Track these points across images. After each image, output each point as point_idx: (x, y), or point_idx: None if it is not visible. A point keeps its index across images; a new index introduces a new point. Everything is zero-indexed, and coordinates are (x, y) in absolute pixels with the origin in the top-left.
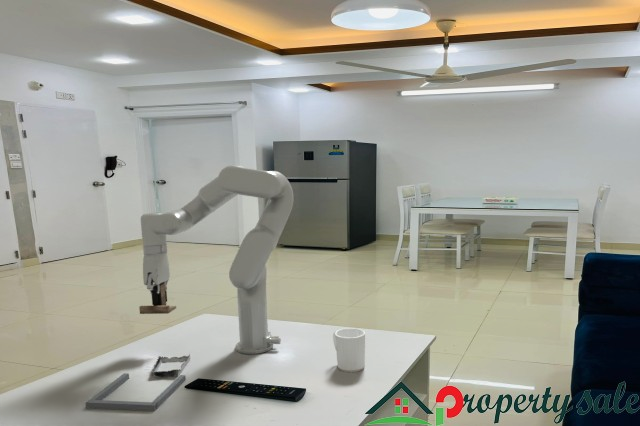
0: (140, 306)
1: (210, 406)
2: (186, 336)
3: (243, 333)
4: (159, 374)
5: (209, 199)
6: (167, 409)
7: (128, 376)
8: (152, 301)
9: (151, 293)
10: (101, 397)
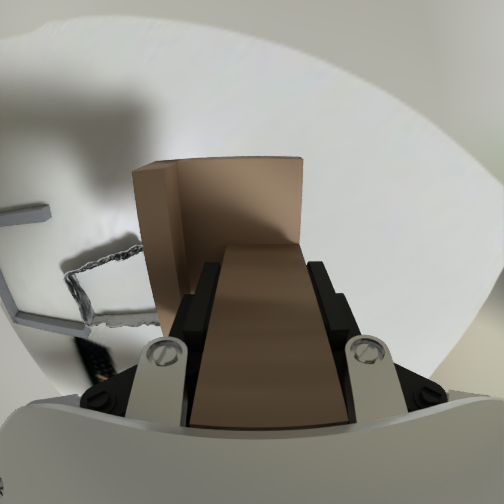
0: (143, 176)
1: (59, 371)
2: (379, 222)
3: None
4: (76, 284)
5: None
6: (27, 330)
7: (46, 219)
8: (200, 278)
9: (152, 348)
10: None
